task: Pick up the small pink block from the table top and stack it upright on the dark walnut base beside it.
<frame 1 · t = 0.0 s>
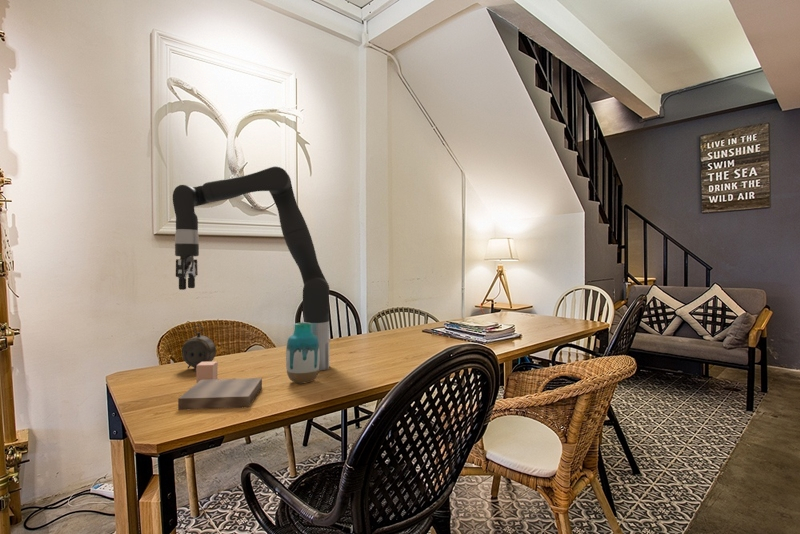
hand: (187, 288, 153), 29 cm above the table, tool pointing down, fingers open, 8 cm apart
pink block: (207, 381, 141), on the table
vase: (302, 382, 141), on the table
walnut base: (223, 397, 125), on the table
alarm clock: (198, 370, 156), on the table
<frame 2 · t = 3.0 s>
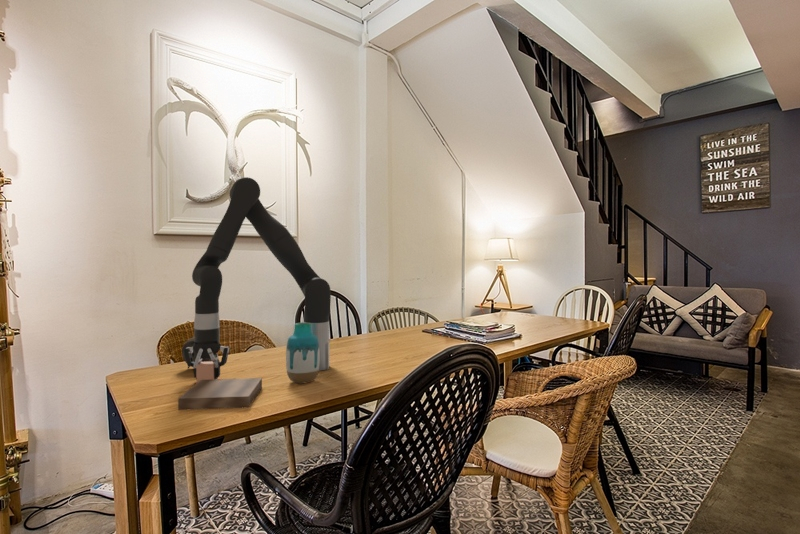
hand: (207, 378, 141), 1 cm above the table, tool pointing down, fingers closed on pink block, 5 cm apart
pink block: (207, 381, 141), on the table, touching gripper
everything else where it was.
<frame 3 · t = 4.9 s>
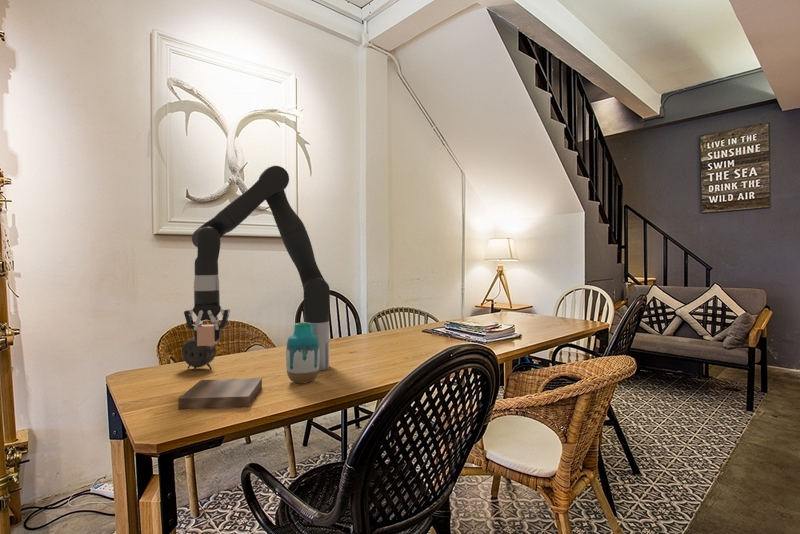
hand: (207, 341, 141), 13 cm above the table, tool pointing down, fingers closed on pink block, 5 cm apart
pink block: (207, 344, 141), point 12 cm above the table, touching gripper
everything else where it was.
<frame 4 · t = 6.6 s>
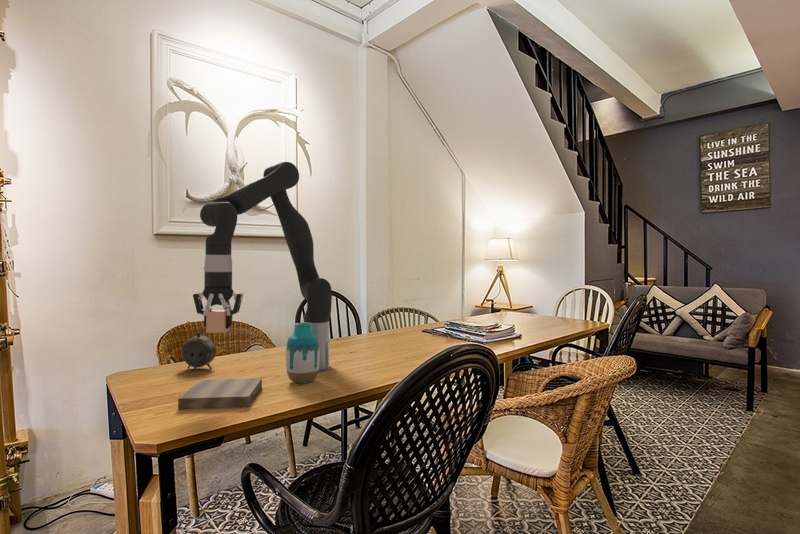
hand: (218, 328, 127), 20 cm above the table, tool pointing down, fingers closed on pink block, 5 cm apart
pink block: (218, 331, 127), point 19 cm above the table, touching gripper
everything else where it was.
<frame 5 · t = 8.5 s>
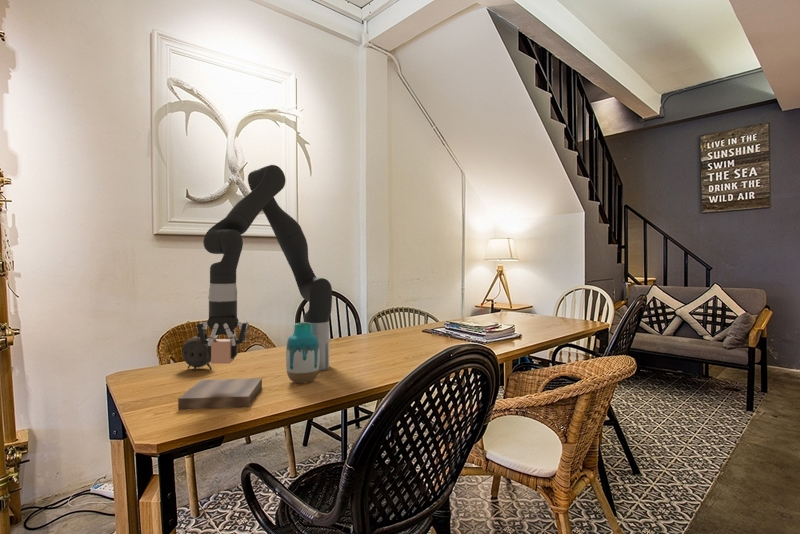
hand: (222, 358, 124), 11 cm above the table, tool pointing down, fingers closed on pink block, 5 cm apart
pink block: (222, 361, 124), point 10 cm above the table, touching gripper
everything else where it was.
when the fingers open (5 cm above the table, at t = 10.1 s): pink block drops 1 cm, resting on walnut base.
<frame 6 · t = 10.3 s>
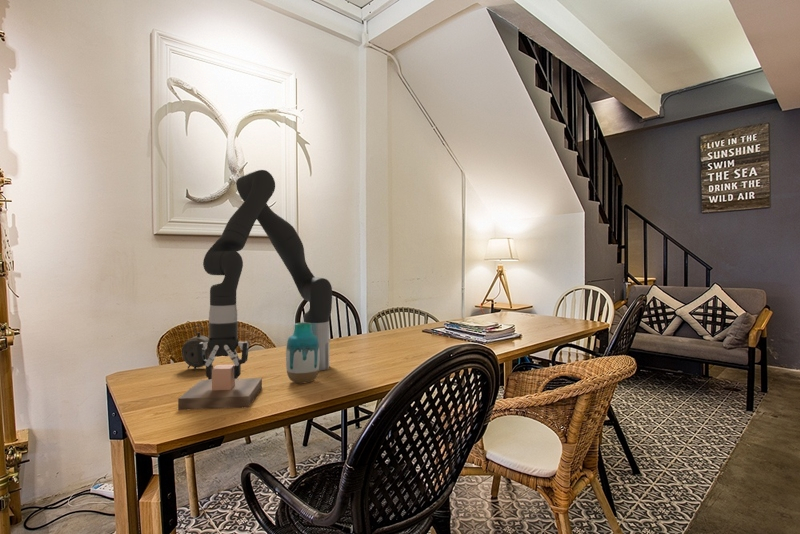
hand: (223, 378, 124), 6 cm above the table, tool pointing down, fingers open, 6 cm apart
pink block: (223, 387, 124), point 3 cm above the table, touching walnut base
everything else where it was.
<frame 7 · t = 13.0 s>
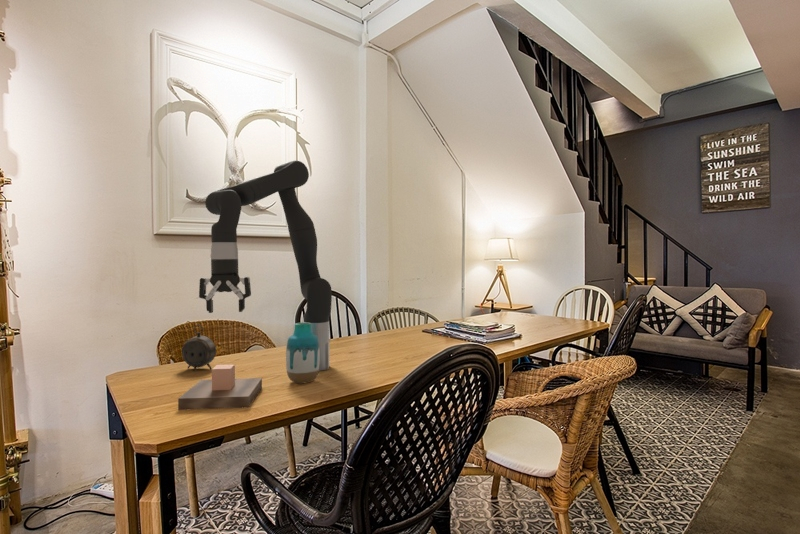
hand: (225, 312, 130), 24 cm above the table, tool pointing down, fingers open, 8 cm apart
nothing on the table moved.
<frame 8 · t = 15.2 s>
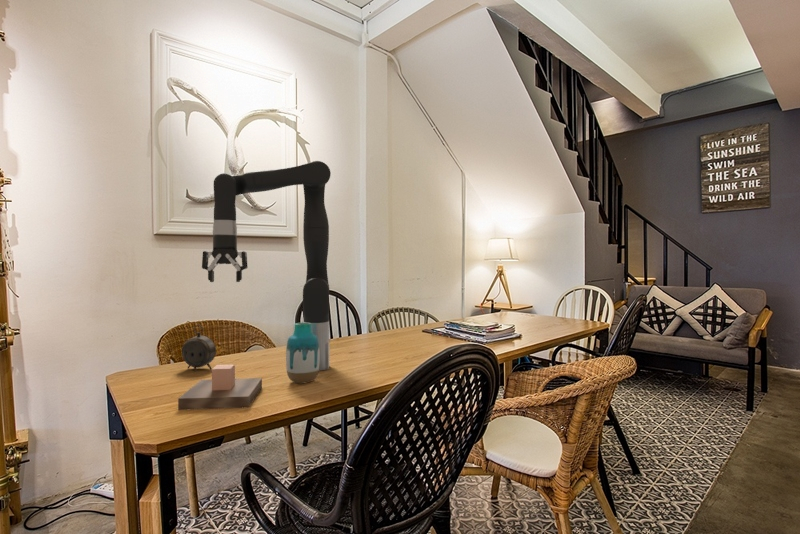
hand: (225, 281, 147), 32 cm above the table, tool pointing down, fingers open, 8 cm apart
nothing on the table moved.
at the end: pink block inside the target area on the walnut base (0.1 cm from its centre), point 3.0 cm above the walnut base's base; pink block tilted 0°; the gripper is holding nothing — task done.
